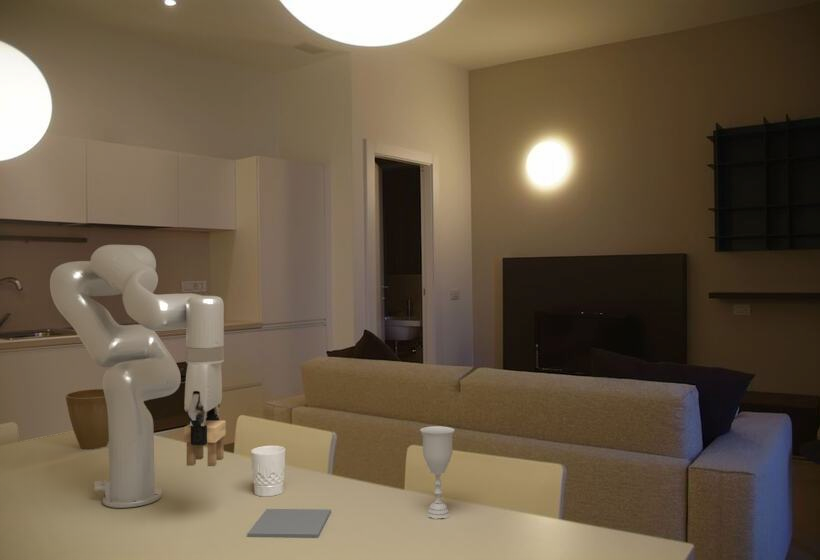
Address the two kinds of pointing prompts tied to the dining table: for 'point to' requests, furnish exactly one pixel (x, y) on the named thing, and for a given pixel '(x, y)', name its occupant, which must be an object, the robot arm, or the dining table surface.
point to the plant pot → (89, 417)
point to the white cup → (268, 470)
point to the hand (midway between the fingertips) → (205, 439)
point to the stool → (215, 443)
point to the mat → (290, 523)
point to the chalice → (437, 462)
